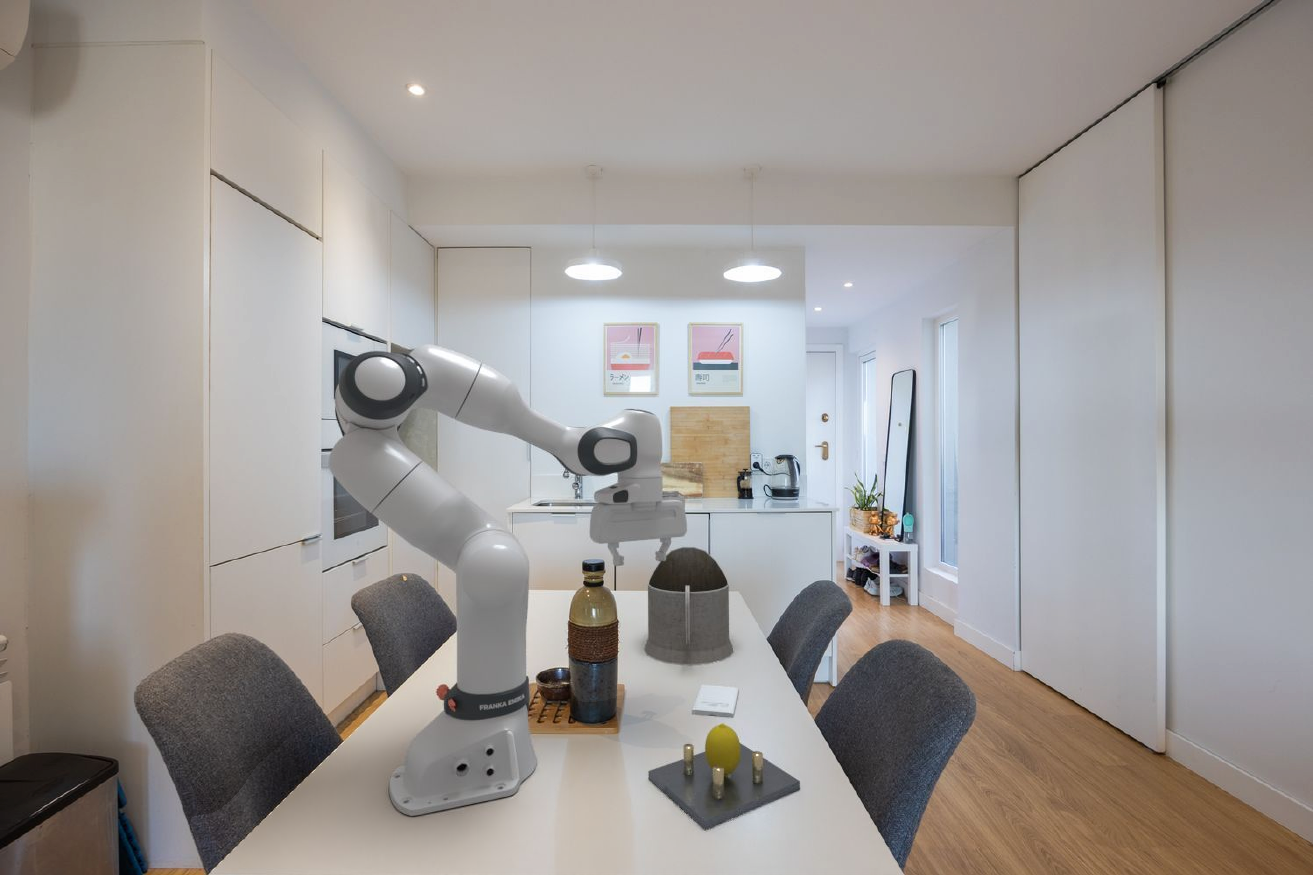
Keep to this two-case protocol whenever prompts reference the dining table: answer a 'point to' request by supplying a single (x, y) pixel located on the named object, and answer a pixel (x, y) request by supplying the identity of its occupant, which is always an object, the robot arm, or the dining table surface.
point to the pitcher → (688, 609)
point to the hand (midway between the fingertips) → (640, 562)
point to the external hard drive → (716, 701)
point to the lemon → (723, 748)
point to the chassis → (722, 785)
